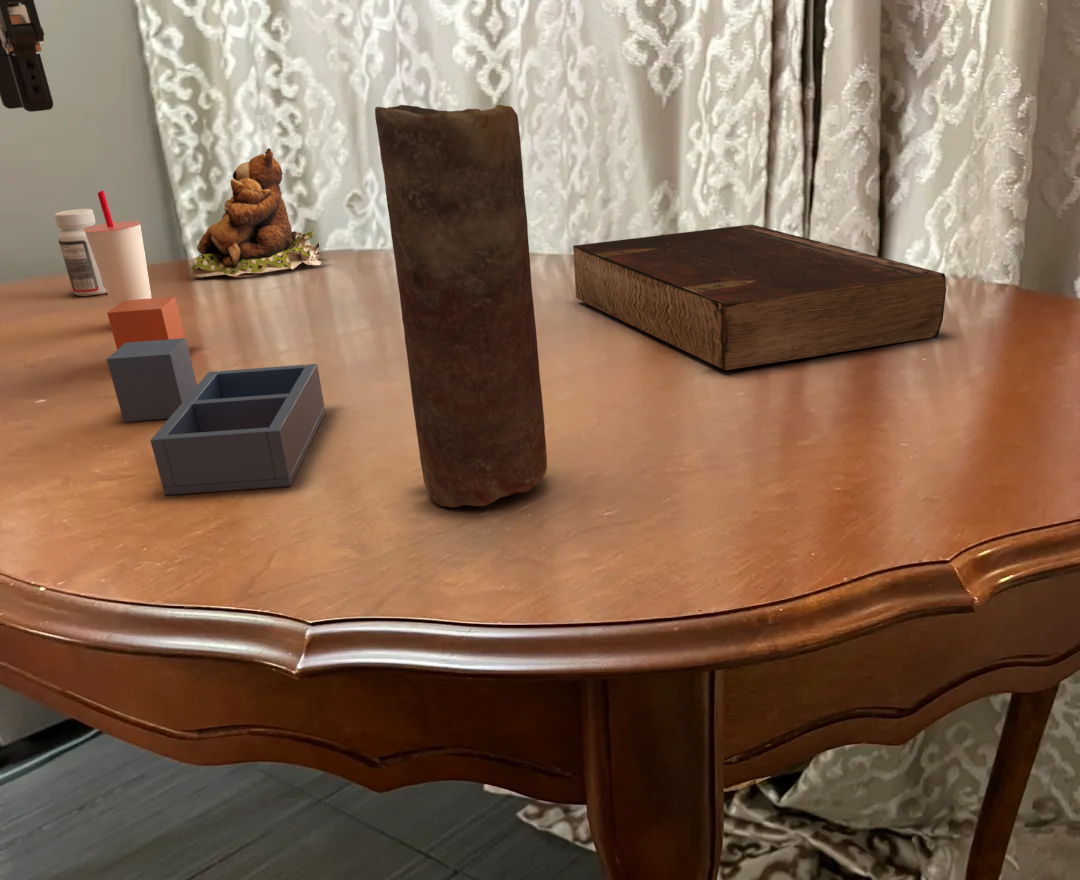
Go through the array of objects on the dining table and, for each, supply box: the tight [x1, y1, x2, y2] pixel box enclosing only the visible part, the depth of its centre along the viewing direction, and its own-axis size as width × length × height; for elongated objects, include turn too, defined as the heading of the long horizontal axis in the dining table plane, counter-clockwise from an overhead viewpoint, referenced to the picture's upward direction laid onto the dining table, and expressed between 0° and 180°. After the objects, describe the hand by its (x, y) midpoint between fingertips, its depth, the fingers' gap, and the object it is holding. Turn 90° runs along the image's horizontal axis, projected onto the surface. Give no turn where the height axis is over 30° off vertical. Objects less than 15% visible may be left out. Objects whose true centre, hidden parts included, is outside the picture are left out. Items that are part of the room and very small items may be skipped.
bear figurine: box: [190, 148, 323, 279], centre depth 129 cm, size 14×15×12 cm
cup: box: [83, 190, 153, 309], centre depth 107 cm, size 5×5×12 cm
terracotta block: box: [106, 296, 186, 351], centre depth 96 cm, size 5×5×5 cm
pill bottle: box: [54, 208, 107, 297], centre depth 123 cm, size 5×5×8 cm
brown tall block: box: [374, 104, 548, 508], centre depth 60 cm, size 8×7×20 cm
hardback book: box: [572, 224, 947, 371], centre depth 94 cm, size 29×19×5 cm, turn 20°
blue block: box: [106, 337, 198, 423], centre depth 83 cm, size 5×5×5 cm
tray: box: [150, 363, 326, 496], centre depth 73 cm, size 8×15×4 cm, turn 1°
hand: (28, 109), depth 89 cm, fingers open, 8 cm apart
